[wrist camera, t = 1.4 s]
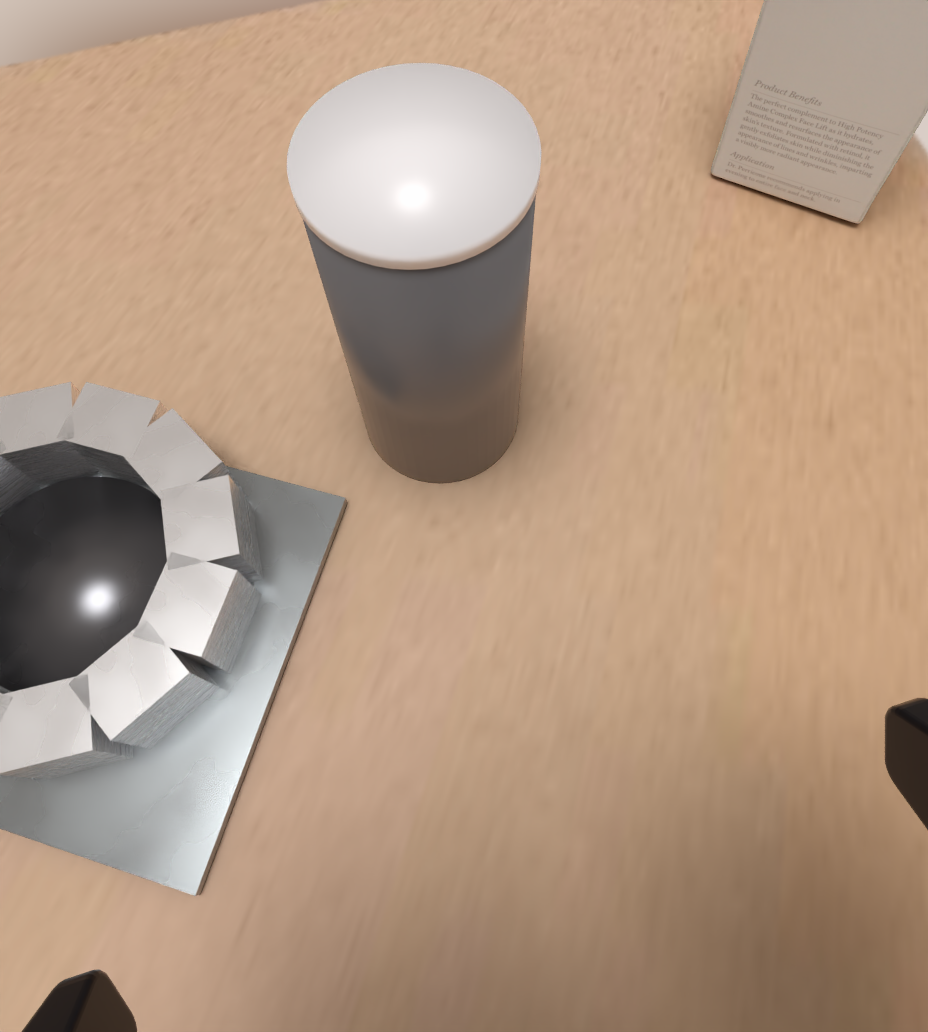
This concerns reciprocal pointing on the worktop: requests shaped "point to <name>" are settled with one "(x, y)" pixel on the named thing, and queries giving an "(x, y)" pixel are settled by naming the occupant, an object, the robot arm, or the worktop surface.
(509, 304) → the lens cylinder
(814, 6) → the skincare box
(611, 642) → the worktop surface
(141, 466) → the barrel ring
